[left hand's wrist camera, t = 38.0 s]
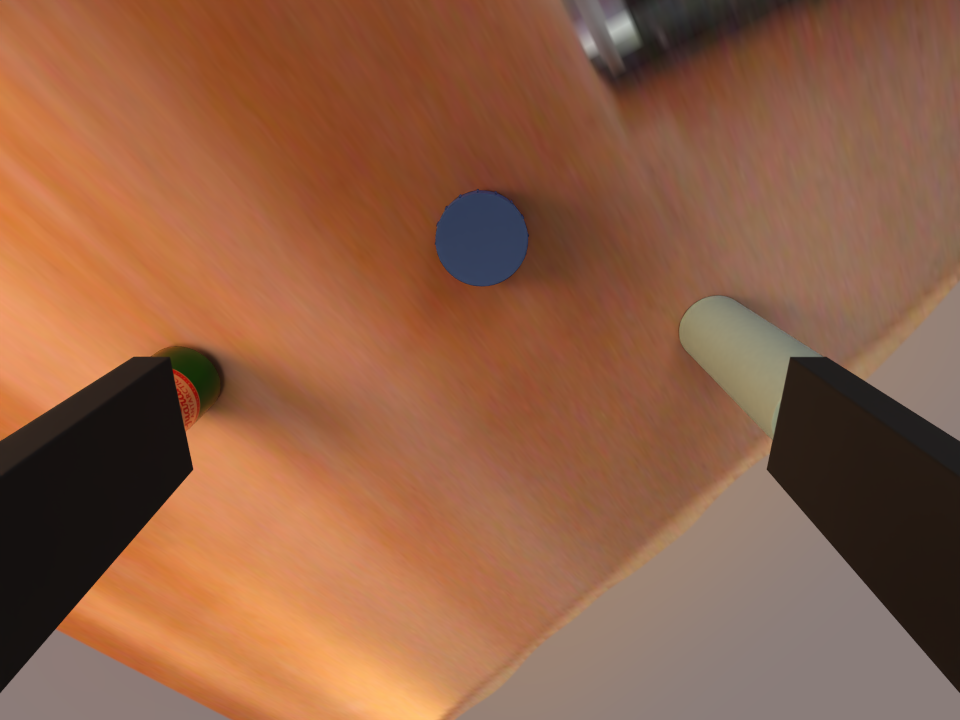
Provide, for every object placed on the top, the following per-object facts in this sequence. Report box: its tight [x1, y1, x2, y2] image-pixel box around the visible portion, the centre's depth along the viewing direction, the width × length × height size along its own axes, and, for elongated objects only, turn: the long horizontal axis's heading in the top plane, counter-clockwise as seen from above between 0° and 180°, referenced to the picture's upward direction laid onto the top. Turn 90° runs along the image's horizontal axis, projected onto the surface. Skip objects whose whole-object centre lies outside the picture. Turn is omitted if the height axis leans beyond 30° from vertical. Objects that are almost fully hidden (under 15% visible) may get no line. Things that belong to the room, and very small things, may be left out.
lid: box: [435, 189, 529, 286], centre depth 36 cm, size 6×6×2 cm
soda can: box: [151, 346, 220, 432], centre depth 35 cm, size 5×5×12 cm
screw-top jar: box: [679, 296, 823, 440], centre depth 32 cm, size 5×5×15 cm
